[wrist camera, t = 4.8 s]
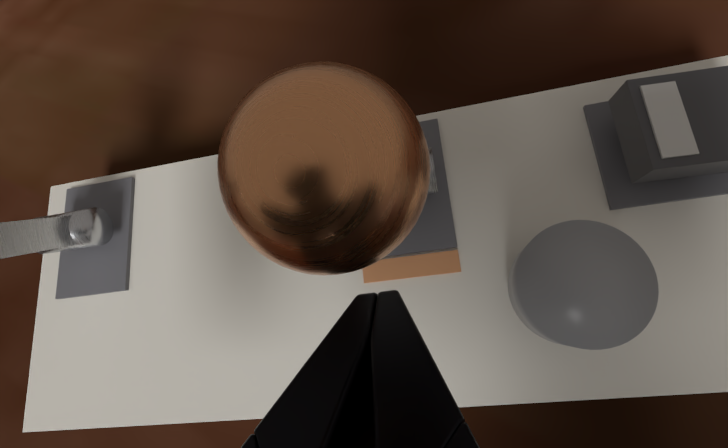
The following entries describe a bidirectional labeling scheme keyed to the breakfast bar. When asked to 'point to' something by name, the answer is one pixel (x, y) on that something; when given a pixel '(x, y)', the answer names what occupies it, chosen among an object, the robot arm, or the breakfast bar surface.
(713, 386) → the control panel
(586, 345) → the push button
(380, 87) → the copper ball joystick
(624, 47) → the breakfast bar surface
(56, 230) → the lever
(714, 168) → the block
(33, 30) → the breakfast bar surface
